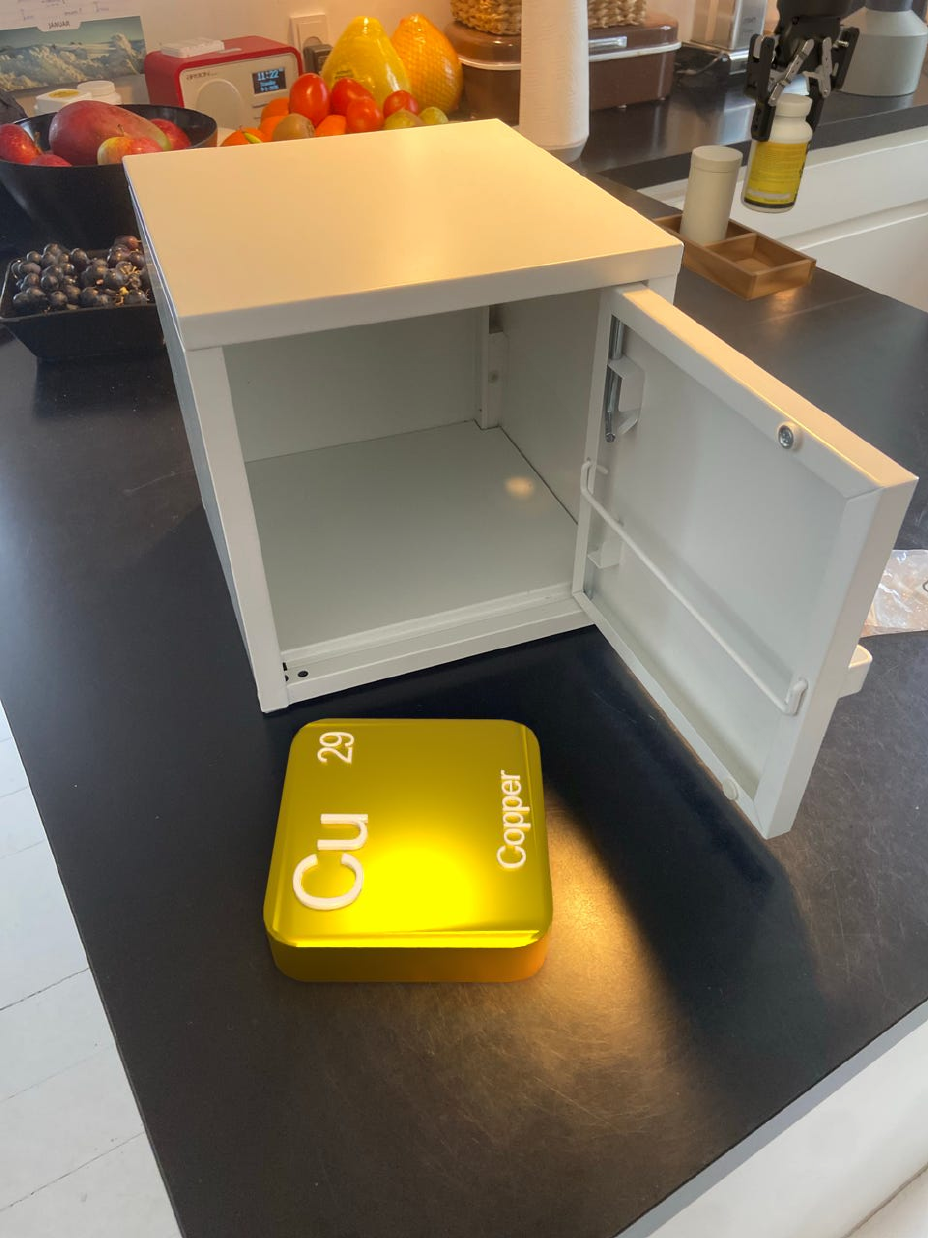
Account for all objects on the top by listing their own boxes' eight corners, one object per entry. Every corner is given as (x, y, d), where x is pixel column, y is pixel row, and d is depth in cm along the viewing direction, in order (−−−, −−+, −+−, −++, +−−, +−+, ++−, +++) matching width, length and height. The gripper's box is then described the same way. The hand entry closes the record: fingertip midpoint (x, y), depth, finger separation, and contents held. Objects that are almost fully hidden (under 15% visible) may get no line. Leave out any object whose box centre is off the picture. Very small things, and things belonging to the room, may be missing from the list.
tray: (703, 233, 128) (708, 207, 125) (809, 287, 115) (817, 259, 113) (642, 246, 124) (646, 219, 122) (745, 304, 111) (752, 275, 109)
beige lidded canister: (702, 237, 125) (720, 142, 117) (732, 253, 121) (753, 156, 113) (666, 245, 123) (682, 149, 115) (696, 261, 119) (715, 163, 111)
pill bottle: (793, 218, 107) (821, 107, 99) (737, 212, 108) (760, 102, 100) (794, 199, 112) (821, 93, 104) (740, 194, 113) (762, 88, 105)
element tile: (550, 985, 48) (558, 941, 45) (266, 985, 48) (253, 940, 45) (533, 760, 59) (538, 711, 56) (301, 759, 59) (293, 710, 56)
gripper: (798, -32, 88) (758, 154, 100) (901, -41, 94) (852, 137, 105) (745, -43, 93) (712, 135, 105) (846, -51, 98) (804, 120, 110)
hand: (782, 135), depth 105 cm, fingers closed on pill bottle, 6 cm apart
